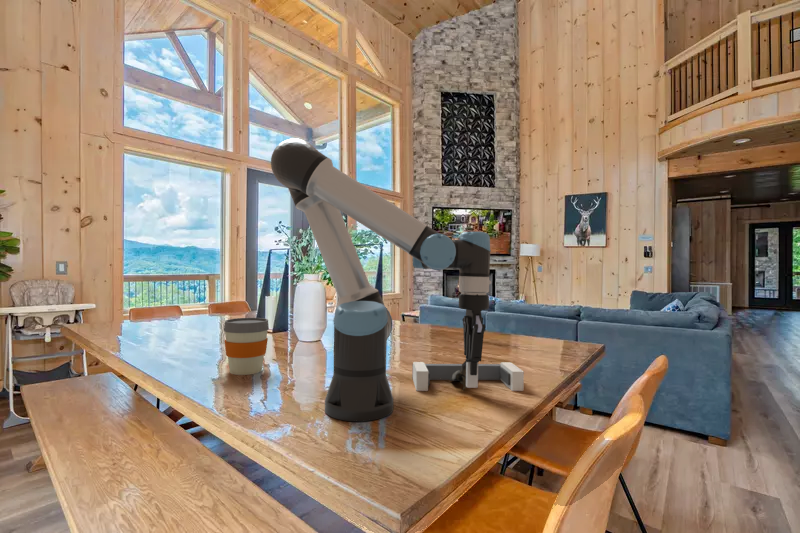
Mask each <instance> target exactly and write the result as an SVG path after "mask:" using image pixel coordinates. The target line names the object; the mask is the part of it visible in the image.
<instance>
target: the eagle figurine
mask: <svg viewBox="0 0 800 533" xmlns="http://www.w3.org/2000/svg"><path fill="white" fill-rule="evenodd" d="M461 364H462V368H461V372H460V370H458V371H456V372H455V373H454V374H453V375H452V378H451V379H450V380H449V381H451V382H459V383H460V384H461V385H462V391H465V389H466V388H467V387H466V360H465V361H464V362H463V363H461Z"/></svg>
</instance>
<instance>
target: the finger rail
mask: <svg viewBox="0 0 800 533" xmlns="http://www.w3.org/2000/svg"><path fill="white" fill-rule="evenodd" d="M462 364H463V363H425V361H413V363H412V372H411V373H412V374H411V376H412V377H411V378H412V381H413V382H412V383H413V385H414V387H415V391H416V392H427V391H429V386H430V383H431V382H430V381H431V380H432V381H434V380H435V381H442V380H443V381H445V380H446V381H450V379H451V378H452V375H453V374H454V373H455V372H456V371H458V370H460V372H461V368H462ZM524 372H525V371H523V369H521V368H520V367H518V366H517V365H515V364H514V363H512V362H505V361H502V362H500V363H478V381H501V382H502V383H503V384H504V385H505V386H506V387H507V388H508V389H509V390H511V391H512V392H523V391H524V383H525V382H524V381H525V380H524V377H525V376H524V374H525V373H524Z"/></svg>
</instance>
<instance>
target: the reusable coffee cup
mask: <svg viewBox="0 0 800 533" xmlns="http://www.w3.org/2000/svg"><path fill="white" fill-rule="evenodd" d="M223 326H224V327H223V332H224V335H225V337H224V338H225V339H224V347H225V349H224V350H225V357H227V360H228V361H227V362H228V369H229V370H228V371H229V373H230V374H232V375H235V376H236V375H237V376H245V375H247V376H248V375H255V374H259V373H260V372H262V370H263V365H264V358H265V357H264V356H265V355H266V354H267V345H268V340H269V339H268V337H267V336H268V331H269V330H270V328H269V319H268V318H263V317H239V318H238V317H236V318H230V319H226V320H224V325H223Z"/></svg>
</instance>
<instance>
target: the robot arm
mask: <svg viewBox="0 0 800 533" xmlns="http://www.w3.org/2000/svg"><path fill="white" fill-rule="evenodd" d="M333 163H334V162H333V160H332V159H331V158H329V157H328V156H326V155H325V154H323V153H322V152H321V151H319V150H318V149H316V147H314V145H312V144H311V143H310V142H308V141H307V140H304V139H302V138H289V139H286V140H284V141H281V142H280V143H279V144H278V145H276V147H275V148H274V150H273V152H272V153H271V157H270V167H271V171H272V173H273V176H274V177H275V179H276V180H277V182H278V183H280V184H281V185H283V186H284V187H286V188H287V189H288V191H289V194H290V196H291V198H292V202H293V203H294V206H295V209H297V210H299V211H301V212H303V213H304V214H305V217H306V219H307V220H306V221H307V222H308V224H309V228H310V230H311V232H312V235H313V237H314V240H315V242H316V245H317V248H318V249H319V252H320V255H321V258H322V259H323V262H324V264H325V267H326V269H327V272H328V274H329V277H330V279H331V283H332V285H333V287H334V290H335V292H336V294H337V297H338V301H337V303H336V306H335V310H334V317H333V321H332V322H333V373H332V374H333V375H332V378H331V382H330V384H329V387H328V390H327V392H326V396H325V399H324V412H325V414H326V415H328V416H329V417H331V418H332V419H336V420H340V421H344V422H345V421H347V422H367V421H375V420H379V419H383V418H385V417H387V416H389V415H390V414H392V412H393V411H394V397H393V396H394V395H393V393H392V390H391V387H390V383H389V379H388V377H387V344H388V339H389V337H390V335H391V333H392V329H393V318H392V315H391V313H390V311H389V310H388V308H387V307H386V306H385V304H384V300H383V298H382V296H381V293H380V291H379V289H377V288H376V287H375V288H374V287H372V285H370V282H369V280H368V278H367V275H366V273H365V270H364V267H363V265H362V262H361V260H360V256H359V255H358V252H357V250H356V248H355V244H354V243H353V240H352V238H351V235H350V234H349V233H350V232H349V230H348V228H347V225H346V223H345V220H344V218H343V215H342V213H343V214H345V215H346V216H348V217H350V218H351V219H353V220H355V222H358V223H359V224H361V225H362V226H364V227H366V228H367V229H368V230H370V231H372V232H373V233H375V234H376V235H378V236H380V238H381V237H382V238H383V239H384V240H386V241H387V242H390V243H391V244H393V245H394V246H395V247H398V248H399V249H400V250H402V251H404V252H406V253H407V254H408V255H410V256H411V257H412V267H414V268H415V269H422V270H433V271H441V270H459V275H458V292H460V293H459V294H458V308H459V309H460V310H465V315H464V316H463V318H462V320H461V321H462V328H463V330H462V331H463V355H464V356H465V361H466V388H469V389H471V388H474V389H477V388H478V386H479V380H478V364H479V363H480V362H482V354H483V345H484V344H483V343H484V336H485V334H484V333H485V330H486V324H485V323H484V317H483V316H482V311H487V310H489V308H490V296H489V294H487V293H489V292H490V285H491V284H492V281H491V279H490V269H491V268H490V266H491V252H492V250H491V237H490V235H489V233H487V232H485V231H463V232H461V233H460V235H459V236H460V237H459V239H451V238H450V237H449V236H447V235H445V234H444V233H443V234H442V233H439V232H438V231H436V230H435V229H433V228H431V227H430V226H428V225H427V224H426V223H424V222H422V221H421V220H419V219H417V218H416V217H415V216H413V215H411V214H409V213H408V212H407V211H404V210H403V209H401V208H400V207H399V206H397V205H395V204H393V203H392V202H390V201H389V200H388V199H386V198H384V197H383V196H381V195H380V194H378V193H376V192H375V191H373V190H372V189H370V188H369V187H366V185H363V184H362V183H360V182H359V181H357V180H356V179H354V178H353V177H351V176H349V175H348V174H346V173H345V172H343V171H342V170H340V169H339V168H337V167H335V166H334V165H333Z"/></svg>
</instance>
